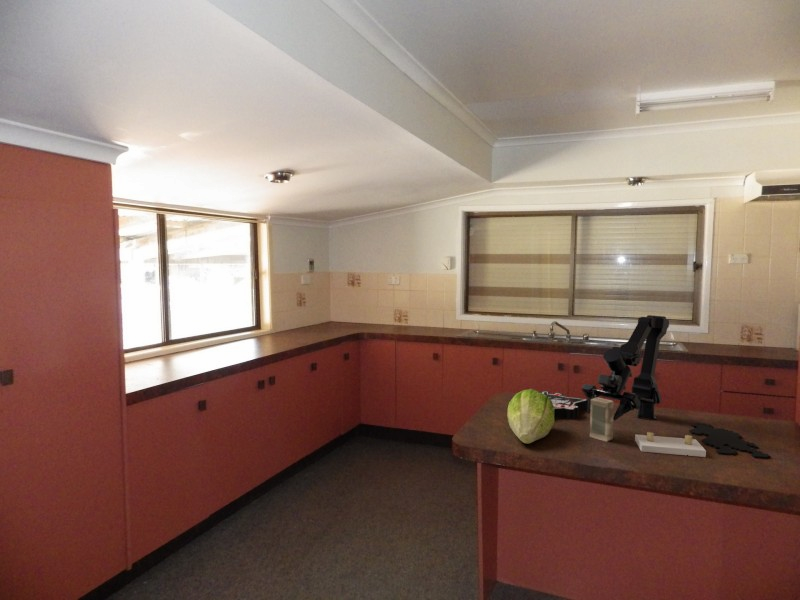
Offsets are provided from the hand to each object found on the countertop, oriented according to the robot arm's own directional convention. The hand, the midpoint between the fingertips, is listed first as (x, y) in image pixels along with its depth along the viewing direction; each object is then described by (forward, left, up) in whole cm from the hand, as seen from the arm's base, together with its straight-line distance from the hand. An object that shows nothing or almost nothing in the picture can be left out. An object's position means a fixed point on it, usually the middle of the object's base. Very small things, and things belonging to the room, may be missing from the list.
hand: (600, 416), depth 167 cm
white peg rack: (+3, +20, -7) cm, 22 cm away
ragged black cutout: (-12, +38, -8) cm, 41 cm away
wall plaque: (-26, -19, -8) cm, 33 cm away
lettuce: (+6, -23, -8) cm, 25 cm away
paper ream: (0, 0, -8) cm, 8 cm away
